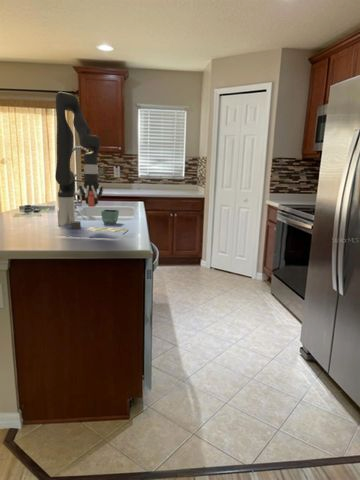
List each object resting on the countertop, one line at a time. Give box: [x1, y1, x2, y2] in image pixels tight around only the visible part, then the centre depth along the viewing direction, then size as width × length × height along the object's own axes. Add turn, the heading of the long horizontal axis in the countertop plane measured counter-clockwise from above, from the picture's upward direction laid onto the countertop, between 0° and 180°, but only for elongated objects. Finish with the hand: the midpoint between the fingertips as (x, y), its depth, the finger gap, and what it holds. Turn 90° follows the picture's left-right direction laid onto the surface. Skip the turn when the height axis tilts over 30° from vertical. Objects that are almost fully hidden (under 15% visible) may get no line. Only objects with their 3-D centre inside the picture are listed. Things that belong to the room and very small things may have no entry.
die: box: [70, 220, 82, 230], centre depth 199 cm, size 5×5×5 cm
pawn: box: [87, 191, 97, 208], centre depth 194 cm, size 4×4×9 cm
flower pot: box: [100, 209, 120, 225], centre depth 216 cm, size 9×9×9 cm
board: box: [86, 226, 129, 235], centre depth 198 cm, size 22×10×1 cm, turn 84°
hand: (91, 204), depth 195 cm, fingers closed on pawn, 4 cm apart
